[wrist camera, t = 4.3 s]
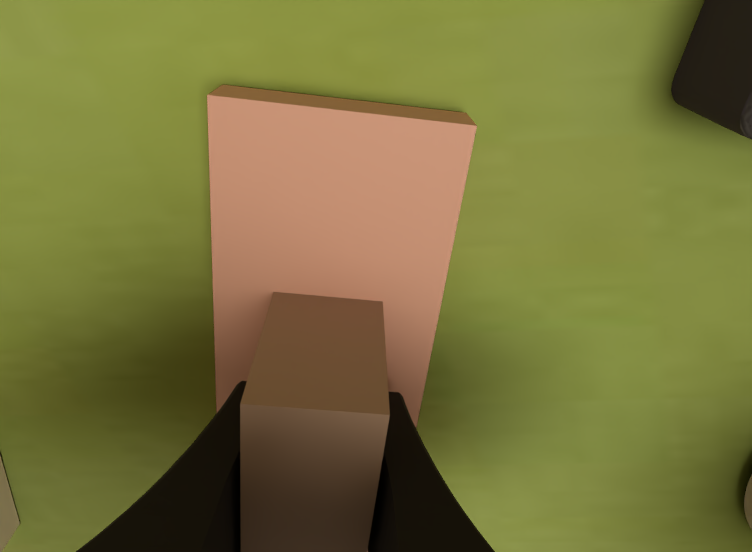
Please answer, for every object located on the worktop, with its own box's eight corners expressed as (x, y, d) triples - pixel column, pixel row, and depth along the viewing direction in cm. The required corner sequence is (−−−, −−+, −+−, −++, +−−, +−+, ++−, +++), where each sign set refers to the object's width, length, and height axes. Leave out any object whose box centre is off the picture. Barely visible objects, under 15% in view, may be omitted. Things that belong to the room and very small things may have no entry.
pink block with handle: (384, 546, 18) (390, 721, 13) (229, 538, 17) (186, 715, 13) (466, 113, 11) (528, 188, 7) (222, 84, 11) (132, 145, 7)
